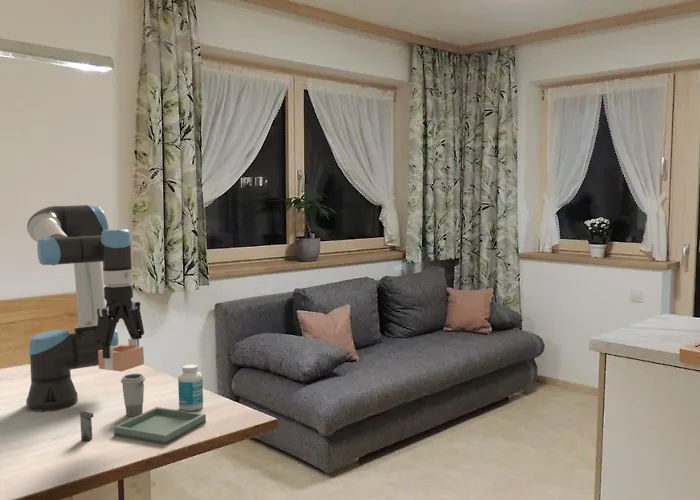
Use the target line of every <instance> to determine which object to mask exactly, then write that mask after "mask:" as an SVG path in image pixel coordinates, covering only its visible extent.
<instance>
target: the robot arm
mask: <svg viewBox="0 0 700 500" xmlns="http://www.w3.org/2000/svg"><path fill="white" fill-rule="evenodd" d="M26 227H27V233H28V235H29V237H30V238H31V239H32V240H34V241H35V242H37V246H36V247H37V248H36V249H37V251H36V252H37V259H38V262H39V264H41V265H42V266H57V265H70V264H71V265H72V264H73V269H74V279H75V280H74V283H75V293H76V305H77V317H78V318H77V319H78V322H77V324H76V325H75V326H74V332H73V333H70V332H69V330H67V329H55V330H49V331H45V332H42V333H39V334H36V335H34V336H33V337H32V338H31V339H30V340H29V349H28V350H29V351H28V354H29V365H30V367H29V368H30V386H29V390H28V395H27V398H26V400H25V403H26V404H25V405H26V406H27V407H26V406H25V407H26V409H27V408H29V409H31V410H30V411H32V410H42V411H41V412H46V411H45V410H51V411H56V409H57V410H62V409H65V408H69V407H71V406H73V405H75V404H77V403H78V401H79V397H78V392H77V389H76V387H75V385H74V383H73V380H72V377H71V370H76V369H77V370H78V369H84V368H90V367H97V366H98V367H99V361H98V351H99V350H102V352H103V358H104V361H105V369H104V370H108V371H113V370H114V356H113V353H114V352H113V346H117V345H119V333H118V329H116V327H117V324H118V323H119V321H120V320H121V319H122V320H123V322H124V325H125V327H126V330H127V332H128V334H129V337H130V338H127V339H128V345H132V346H140V341H139V340H141V339H142V336H144V335H145V330H144V329H145V328H144V323H143V320H142V315H141V302H140V301H132V299H133V297H134V291H133V290H134V289H133V288H134V287H133V285H132V283H133V271H132V270H133V269H132V265H133V264H132V239H131V232H130V230H129V229H127V228H126V229H125V228H124V229H122V228H116V229H115V228H111V229H109V224H108V218H107V216H106V214H105V211H104V209H103V208H102V207H101V206H99V205H88V204H86V205H85V204H84V205H53V206H48V207H44V208H42V209H40V210H38V211H36V212H35V213H34V214H32V216H30V218H29V219H28V221H27V226H26ZM105 302H106V303H105ZM29 409H28V410H29Z"/></svg>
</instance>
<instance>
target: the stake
mask: <svg viewBox="0 0 700 500" xmlns="http://www.w3.org/2000/svg"><path fill="white" fill-rule="evenodd" d="M79 416H80V417H79V419H80V421H79V422H80V437H81V438H80V439H81V442H90V441H91V440H93V426H92V418H94V413H93V412H87V411H82V412H80V413H79Z"/></svg>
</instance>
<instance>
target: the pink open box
mask: <svg viewBox="0 0 700 500" xmlns="http://www.w3.org/2000/svg"><path fill="white" fill-rule="evenodd" d="M113 352H114V353H113V356H114V370H112V371H114V372H124V371H127V370H131V369H134V368H137V367H139V366H143V365H145V360H144V359H145V357H144V346H140V345H139V346H132V345H129V344H122V343H120V344H118V345H117V346H113ZM98 361H99V365H98V369H99V370H106V369H105V361H104V358H103V352H102V350H99V351H98Z"/></svg>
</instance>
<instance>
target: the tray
mask: <svg viewBox="0 0 700 500" xmlns="http://www.w3.org/2000/svg"><path fill="white" fill-rule="evenodd" d="M206 417H207V415H206V414H205V413H199V412H195V411H183V410H181V409H173V408H168V407H167V408H166V407H160V406H159V407H158V406H156V407H154V408H152V409H149V410H147V411H145V412H142V414H140V415H138V416H135V417H133V418H132V417H131V418H130V419H128V420H126V421H123V422H121V423H119V424H116V425H115V426H113V436H116V437H120V438H127V439H131V440H136V441H137V440H138V441H144V442H149V443H153V444H155V443H156V444H159V445H160V444H161V445H167V444H170V443H171V442H174V441H175V440H177V439H179V438H180V437H182V436H184V435H186V434H188V433H189V432H192V431H193V430H195V429H197V428H198V427H200V426H202V425H204V424H205V423H207V419H206Z"/></svg>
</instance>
